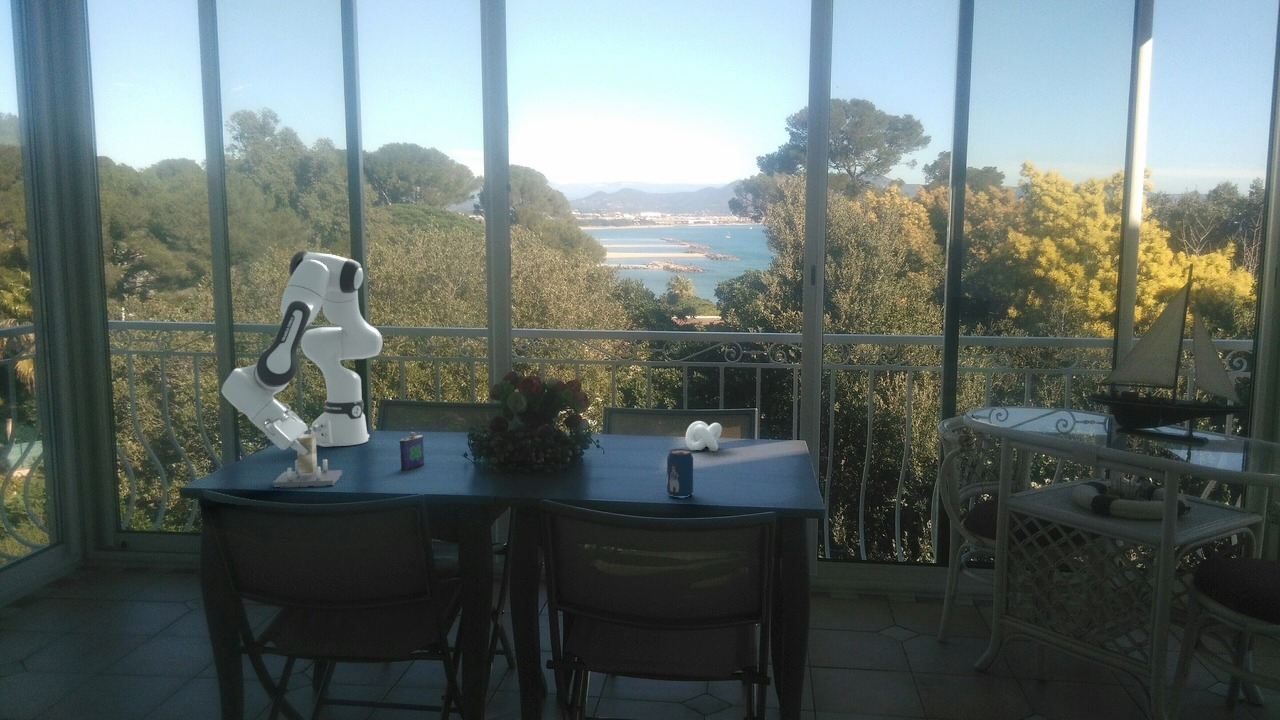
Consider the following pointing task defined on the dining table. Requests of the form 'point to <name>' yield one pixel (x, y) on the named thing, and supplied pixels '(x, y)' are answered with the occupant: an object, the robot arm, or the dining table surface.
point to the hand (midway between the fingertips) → (309, 450)
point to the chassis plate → (308, 477)
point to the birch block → (307, 454)
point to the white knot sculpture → (703, 436)
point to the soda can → (680, 472)
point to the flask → (412, 451)
